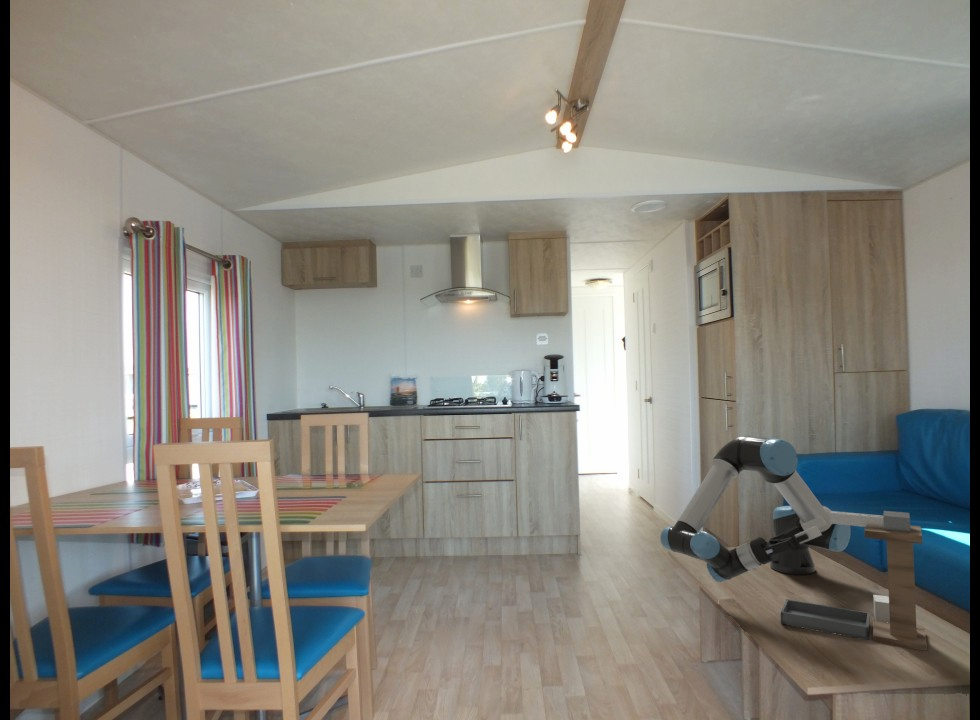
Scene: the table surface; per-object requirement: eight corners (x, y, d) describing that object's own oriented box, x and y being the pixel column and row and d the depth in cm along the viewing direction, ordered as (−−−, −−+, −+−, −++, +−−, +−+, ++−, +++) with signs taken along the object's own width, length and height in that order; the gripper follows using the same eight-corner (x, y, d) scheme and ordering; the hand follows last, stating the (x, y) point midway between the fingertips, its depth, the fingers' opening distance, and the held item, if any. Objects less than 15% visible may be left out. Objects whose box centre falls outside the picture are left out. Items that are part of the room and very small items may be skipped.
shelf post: (870, 624, 178) (866, 521, 179) (924, 634, 171) (920, 526, 172) (868, 640, 168) (864, 530, 169) (926, 651, 161) (922, 536, 162)
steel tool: (832, 519, 182) (831, 506, 182) (909, 527, 171) (909, 512, 171) (830, 524, 176) (829, 510, 176) (910, 532, 166) (909, 518, 166)
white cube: (897, 617, 183) (896, 597, 183) (899, 625, 178) (899, 604, 178) (873, 614, 186) (873, 594, 186) (875, 621, 181) (874, 601, 181)
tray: (786, 610, 190) (786, 599, 191) (870, 624, 178) (869, 612, 179) (781, 624, 180) (780, 612, 181) (868, 640, 168) (868, 627, 168)
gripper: (770, 554, 199) (833, 527, 189) (754, 576, 178) (824, 547, 168) (756, 532, 201) (818, 505, 191) (740, 552, 180) (808, 522, 170)
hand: (821, 525), depth 180 cm, fingers open, 13 cm apart
